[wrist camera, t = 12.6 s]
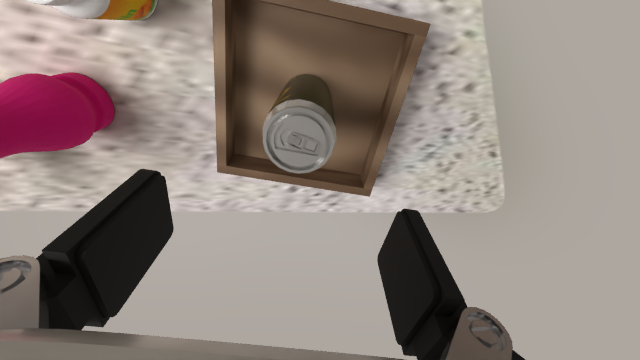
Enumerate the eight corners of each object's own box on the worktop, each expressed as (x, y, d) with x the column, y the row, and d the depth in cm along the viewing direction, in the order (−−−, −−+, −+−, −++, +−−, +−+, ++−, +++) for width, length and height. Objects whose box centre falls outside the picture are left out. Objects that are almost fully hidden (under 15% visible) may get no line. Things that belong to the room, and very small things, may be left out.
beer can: (339, 83, 27) (350, 120, 17) (321, 129, 29) (321, 184, 19) (290, 64, 26) (269, 90, 16) (276, 113, 28) (251, 163, 18)
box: (227, -19, 23) (211, -27, 20) (415, 24, 25) (430, 23, 21) (228, 156, 32) (217, 172, 29) (364, 179, 34) (369, 196, 30)
